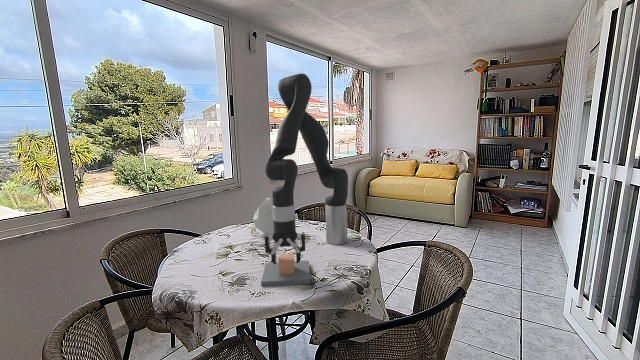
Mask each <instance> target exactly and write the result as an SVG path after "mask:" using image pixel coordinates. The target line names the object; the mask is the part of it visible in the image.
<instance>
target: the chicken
mask: <svg viewBox="0 0 640 360" xmlns="http://www.w3.org/2000/svg"><path fill="white" fill-rule="evenodd" d="M272 209H273V197H267V198H266V199H265V200H264V201H263V202H262V203H261V204H260V205H258V207H257V209H256V210H255V212H254V215H253V224H254V225H252V226H253V228H251V227H250V233H251V234H250V235H251V236H253V235H255V233H257V230H258V231H260V232H262V233H263V234H265V235H266V234H268V235H273V234H274V229H273V217H272V216H273V211H271V210H272ZM256 229H257V230H256Z"/></svg>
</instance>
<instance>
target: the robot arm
mask: <svg viewBox="0 0 640 360" xmlns="http://www.w3.org/2000/svg"><path fill="white" fill-rule="evenodd" d="M312 88H313V87H312V82H311V80H310V78H309V76H308V75H306V74H305V73H303V72H302V73H297V74H293V75H289V76H286V77H283V78H281V79H280V80H279V81H278V83H277V90H278V95H279V96H280V98H281V101H282V102H283V104H284V106H285V108H286V109H287V111H288V112H287V114H286V116H284V118H283V120H282V121H281V123H280V125H279V128H278V131H277V135H276V141H275V145H274V147H273V149H272V151H271V153H270V155H269V157H268V159H267V162H266V165H265V175H266V177H267V178H268V179H269V180H271V181H272V180H273V181H284V183H283V185H281V186H277V187H275V188H273V189H272V191H271V194H272V197H271V198H272V200H273V206H272V213H273V216H272V217H273V229H274V234H273V235H268V234H265V236H264V248H265V253H266V254H270V256H271V263H274V264H276V262H277V253H276V252H277V250H278V249H279V247H280V248H284V247H287V248H288V247H292V249H293V250H294V251H295V256H296V257H295V258H296V259H295V260H296V261H297V263H299V261H302V259H301V253H302V252H305V251H306V235H305V232H303V231H302V232H301V233H297V228H296V227H297V226H296V211H295V201H294V200H295V199H294V190H295V185H296V180H297V176H298V169H299V168H298V164H297V162H296V161H295V160H294V159H291V158H286V157H288V156H292V155H294V154H295V153H296V151H297V145H298V140H299V139H298V137H299V134H300V135H301V137H302V140H303V141H304V142H303V143H304V144H305V146H306V148H307V150H308V151H309V154H310V157H311V159H312V161H313V163H314V165H315V168H316V171H317V174H318V177H319V180H320V182H321V183H320V184H322V186H323V187H324V188H327V189H331V190H333V192H332V195H328V196H326V198H324V199H325V201H324V203H325V204H324V206H325V207H324V208H325V209H324V210H325V239H326V243H327V244H329V245H344V244H347V243H348V238H349V237H348V221H347V199H348V195H349V194H348V193H349V191H348V189H349V175H348V172H347V170H346V169H345V168H342V167H341V168H339V167H332V166H331V163H330V162H329V160H328V150H329V145H330V144H329V142H330V141H329V138H328V136H327V133H326V131H325V128H324V126H323V125H322V123H320V121H319V120H317V119H316V118H314V117H313V116H312V115H311V114H310V113H308V112H307V108H308V105H309V102H310V98H311V95H312ZM297 238H298V239H299V241H301V246H299V245H298V243H297V242H296V240H297ZM271 240H273V241H274V245H273V247H272V248H270V242H271Z"/></svg>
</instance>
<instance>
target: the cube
mask: <svg viewBox="0 0 640 360" xmlns="http://www.w3.org/2000/svg"><path fill="white" fill-rule="evenodd" d="M294 261H295V253H283V254H282V253H281V254H279V257H278V262H279V274H294Z"/></svg>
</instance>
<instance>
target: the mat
mask: <svg viewBox="0 0 640 360" xmlns="http://www.w3.org/2000/svg"><path fill="white" fill-rule="evenodd" d="M260 283H261V284H260V286H261V287H269V286H270V287H271V286H286V285H289V286H290V285H304V284H311V273H310V261H309V260H300V261H299V263H297V260H296V261H295V260H294V274H279V261H276V264H274V263H272V262H266V263H265V265H264V269H263V273H262V277H261V281H260Z"/></svg>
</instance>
